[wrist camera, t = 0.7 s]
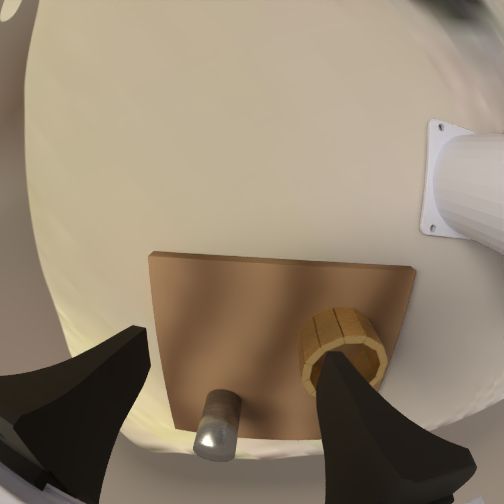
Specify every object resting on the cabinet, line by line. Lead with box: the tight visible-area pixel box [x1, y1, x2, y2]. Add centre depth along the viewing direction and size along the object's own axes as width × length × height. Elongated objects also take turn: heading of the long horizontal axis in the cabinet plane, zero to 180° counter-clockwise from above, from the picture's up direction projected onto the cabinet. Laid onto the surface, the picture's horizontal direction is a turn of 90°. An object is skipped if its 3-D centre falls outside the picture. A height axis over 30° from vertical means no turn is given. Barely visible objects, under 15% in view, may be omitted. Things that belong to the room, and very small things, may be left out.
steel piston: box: [193, 389, 242, 462], centre depth 19 cm, size 3×3×6 cm
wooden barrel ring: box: [297, 307, 388, 397], centre depth 17 cm, size 5×5×4 cm
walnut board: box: [148, 251, 416, 440], centre depth 21 cm, size 18×18×1 cm
